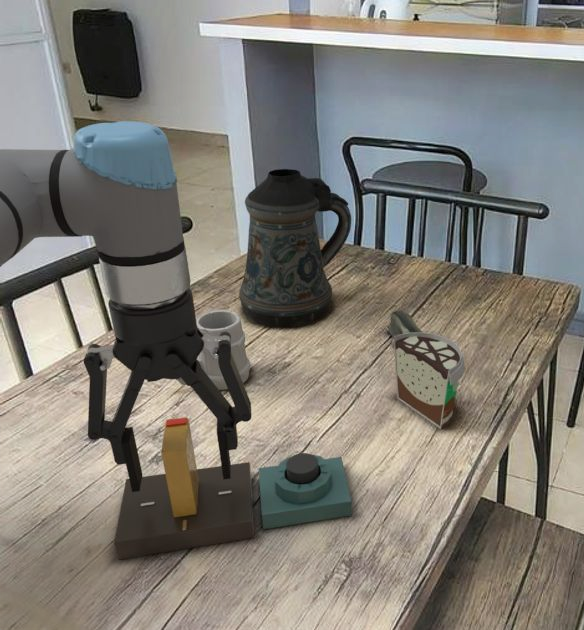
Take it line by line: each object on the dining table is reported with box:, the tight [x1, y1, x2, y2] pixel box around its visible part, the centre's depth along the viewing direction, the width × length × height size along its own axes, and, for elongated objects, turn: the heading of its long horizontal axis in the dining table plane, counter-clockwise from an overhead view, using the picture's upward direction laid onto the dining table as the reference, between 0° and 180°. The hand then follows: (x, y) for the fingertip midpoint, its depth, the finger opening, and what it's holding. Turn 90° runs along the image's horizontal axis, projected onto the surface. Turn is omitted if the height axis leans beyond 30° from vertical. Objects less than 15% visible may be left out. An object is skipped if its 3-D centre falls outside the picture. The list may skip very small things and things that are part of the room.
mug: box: [175, 309, 251, 391], centre depth 99 cm, size 8×12×12 cm, turn 127°
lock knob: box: [160, 417, 199, 517], centre depth 74 cm, size 6×2×9 cm, turn 14°
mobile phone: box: [385, 310, 423, 338], centre depth 110 cm, size 5×3×15 cm
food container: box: [391, 331, 466, 430], centre depth 96 cm, size 12×6×10 cm, turn 41°
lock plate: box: [113, 461, 255, 560], centre depth 77 cm, size 14×10×3 cm
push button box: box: [258, 454, 353, 530], centre depth 80 cm, size 10×8×4 cm
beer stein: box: [238, 168, 352, 329], centre depth 119 cm, size 16×19×25 cm
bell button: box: [286, 452, 319, 485], centre depth 78 cm, size 4×4×2 cm
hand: (182, 476), depth 75 cm, fingers open, 9 cm apart
